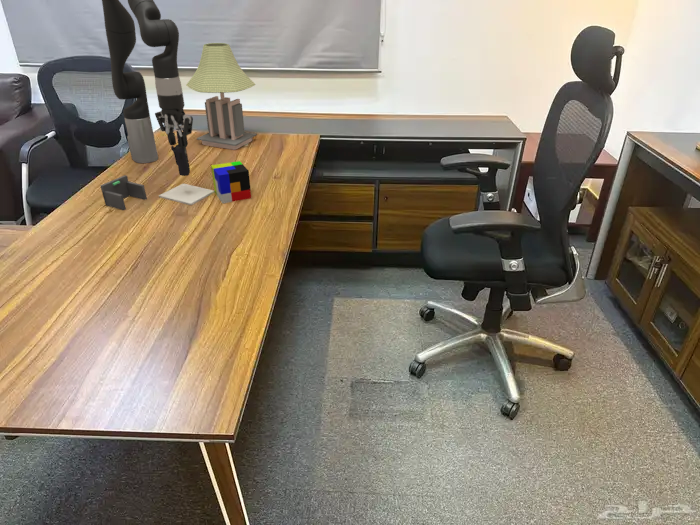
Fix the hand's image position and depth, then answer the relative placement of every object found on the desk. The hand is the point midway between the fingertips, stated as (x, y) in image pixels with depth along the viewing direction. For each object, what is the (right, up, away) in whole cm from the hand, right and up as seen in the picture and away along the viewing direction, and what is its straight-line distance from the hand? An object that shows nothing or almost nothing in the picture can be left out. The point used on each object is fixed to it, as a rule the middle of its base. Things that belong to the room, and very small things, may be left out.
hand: (178, 145), depth 160 cm
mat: (0, -15, +9) cm, 17 cm away
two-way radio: (0, -8, +5) cm, 10 cm away
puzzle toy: (+15, -15, +10) cm, 24 cm away
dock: (-18, -18, +3) cm, 26 cm away
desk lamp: (+2, +15, +58) cm, 59 cm away
